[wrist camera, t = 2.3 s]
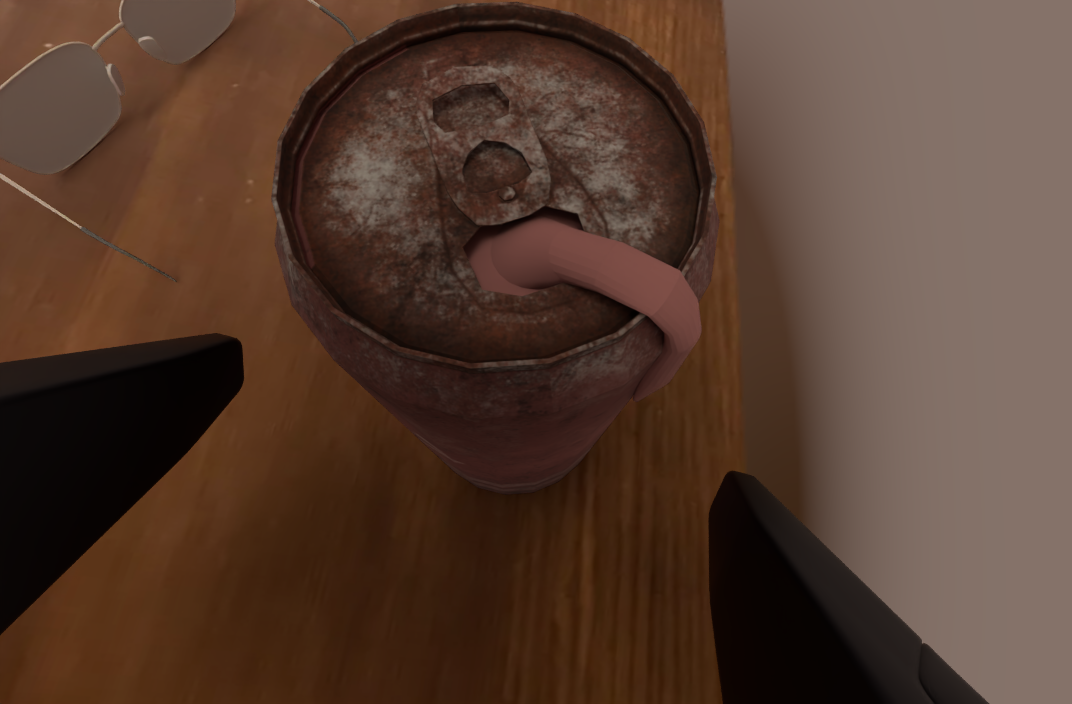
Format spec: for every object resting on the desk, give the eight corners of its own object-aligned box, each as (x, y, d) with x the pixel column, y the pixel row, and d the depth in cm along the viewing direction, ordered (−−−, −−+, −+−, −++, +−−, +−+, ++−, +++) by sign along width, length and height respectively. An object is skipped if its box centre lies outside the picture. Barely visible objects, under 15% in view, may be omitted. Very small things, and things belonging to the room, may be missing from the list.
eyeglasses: (254, 3, 26) (214, -84, 22) (385, 79, 26) (367, 3, 22) (29, 199, 22) (-67, 134, 18) (179, 297, 21) (113, 250, 18)
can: (545, 534, 18) (608, 531, 5) (399, 435, 19) (122, 211, 6) (630, 392, 20) (844, 108, 7) (492, 309, 21) (441, -81, 8)
